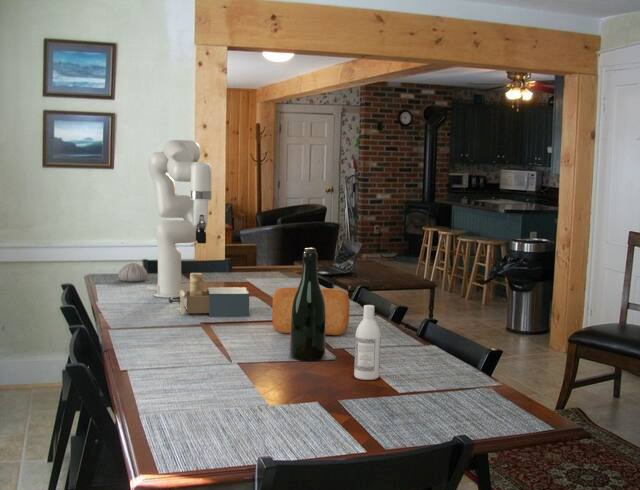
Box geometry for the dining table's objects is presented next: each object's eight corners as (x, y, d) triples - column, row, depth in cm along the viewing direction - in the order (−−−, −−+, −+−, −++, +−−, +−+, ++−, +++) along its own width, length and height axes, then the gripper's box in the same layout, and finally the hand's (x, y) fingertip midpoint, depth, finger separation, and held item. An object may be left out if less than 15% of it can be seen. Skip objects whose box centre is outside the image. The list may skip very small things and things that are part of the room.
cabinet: (209, 316, 295) (209, 293, 294) (207, 309, 309) (207, 287, 308) (249, 316, 299) (249, 293, 298) (245, 308, 313) (245, 287, 312)
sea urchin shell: (143, 283, 366) (143, 265, 365) (113, 282, 366) (113, 264, 365) (151, 278, 379) (151, 262, 378) (122, 277, 379) (122, 261, 378)
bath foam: (365, 372, 225) (367, 302, 222) (384, 377, 221) (387, 306, 218) (348, 377, 220) (351, 305, 217) (368, 382, 215) (370, 309, 213)
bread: (348, 290, 266) (354, 286, 284) (271, 287, 269) (281, 283, 286) (347, 336, 267) (353, 330, 285) (270, 333, 270) (280, 326, 287)
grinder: (190, 309, 298) (190, 274, 296) (189, 306, 303) (189, 272, 301) (202, 309, 299) (202, 274, 297) (201, 306, 304) (202, 272, 302)
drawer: (169, 314, 292) (169, 296, 291) (168, 307, 305) (168, 290, 304) (218, 313, 296) (218, 295, 296) (215, 307, 309) (216, 289, 308)
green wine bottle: (310, 363, 233) (313, 250, 228) (282, 357, 239) (285, 247, 234) (331, 356, 242) (335, 248, 237) (304, 351, 247) (307, 245, 243)
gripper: (189, 195, 305) (189, 239, 307) (191, 197, 288) (191, 244, 290) (209, 195, 307) (209, 239, 309) (212, 197, 290) (212, 244, 292)
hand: (200, 242), depth 300 cm, fingers open, 9 cm apart
